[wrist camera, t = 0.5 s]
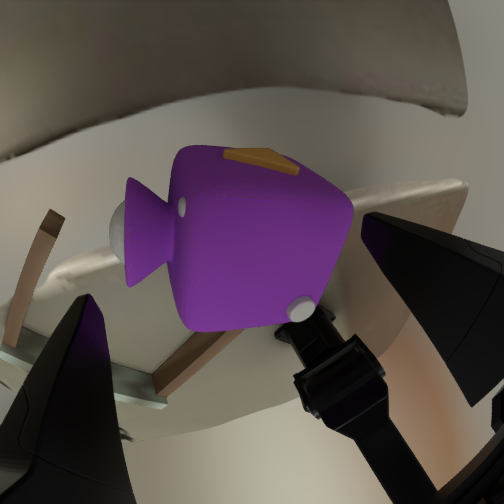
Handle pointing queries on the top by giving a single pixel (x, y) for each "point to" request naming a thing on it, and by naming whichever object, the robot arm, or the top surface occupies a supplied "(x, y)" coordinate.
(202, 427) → the top surface
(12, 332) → the walnut dock
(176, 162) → the toy camera
